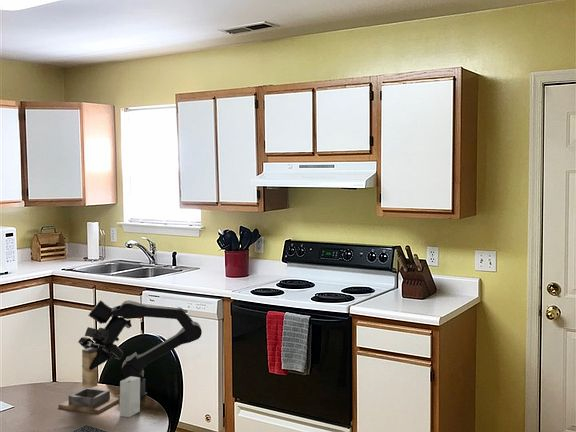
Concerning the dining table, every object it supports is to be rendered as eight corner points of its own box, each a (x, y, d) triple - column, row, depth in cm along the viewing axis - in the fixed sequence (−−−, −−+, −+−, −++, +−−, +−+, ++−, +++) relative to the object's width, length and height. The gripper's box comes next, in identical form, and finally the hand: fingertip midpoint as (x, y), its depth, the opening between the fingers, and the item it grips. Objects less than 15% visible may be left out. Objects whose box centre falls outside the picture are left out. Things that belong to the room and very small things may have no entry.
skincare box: (129, 410, 225) (129, 375, 224) (140, 412, 223) (140, 377, 222) (118, 416, 219) (118, 380, 218) (130, 418, 217) (130, 382, 217)
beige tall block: (90, 383, 231) (90, 347, 230) (97, 385, 229) (97, 349, 228) (82, 386, 228) (82, 349, 227) (88, 388, 226) (88, 351, 225)
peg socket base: (119, 401, 233) (119, 390, 233) (98, 413, 221) (98, 401, 220) (81, 396, 238) (81, 385, 238) (58, 408, 226) (58, 396, 225)
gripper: (82, 314, 236) (56, 351, 228) (116, 321, 225) (89, 360, 217) (100, 332, 243) (75, 368, 234) (133, 340, 232) (108, 378, 223)
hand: (86, 368), depth 227 cm, fingers closed on beige tall block, 4 cm apart
